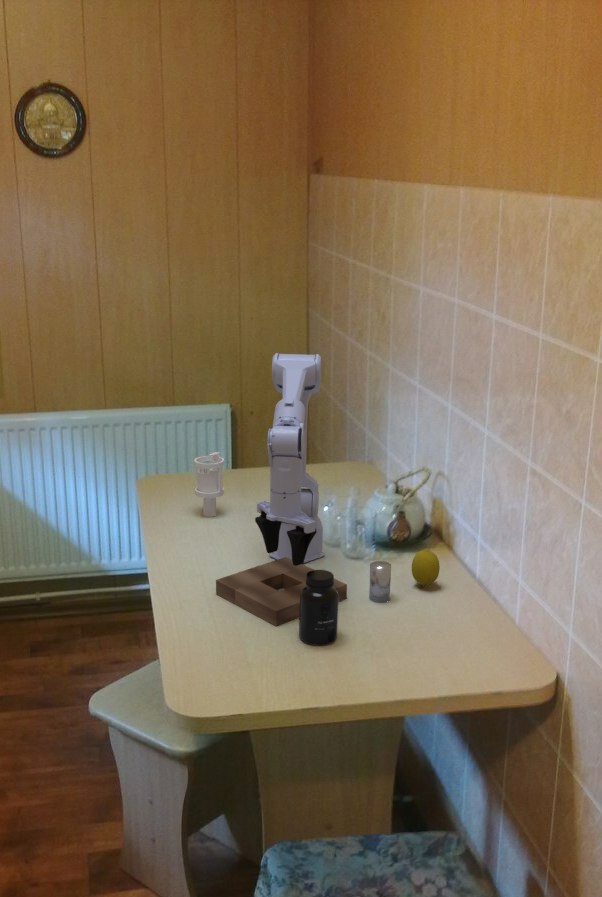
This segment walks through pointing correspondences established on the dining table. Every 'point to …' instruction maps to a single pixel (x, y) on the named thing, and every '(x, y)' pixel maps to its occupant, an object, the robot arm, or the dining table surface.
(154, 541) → the dining table surface
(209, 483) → the strainer
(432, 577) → the lemon
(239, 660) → the dining table surface
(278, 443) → the robot arm
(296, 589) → the dock block
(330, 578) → the supplement bottle
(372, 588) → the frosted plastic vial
